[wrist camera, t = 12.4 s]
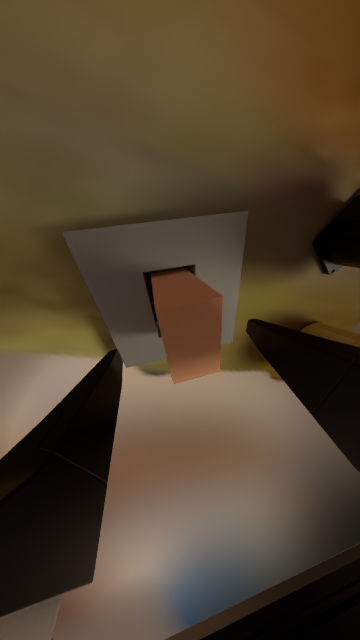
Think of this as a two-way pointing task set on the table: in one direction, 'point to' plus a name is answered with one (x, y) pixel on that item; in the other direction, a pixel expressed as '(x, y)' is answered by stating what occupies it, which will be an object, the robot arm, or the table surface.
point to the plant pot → (333, 333)
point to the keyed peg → (188, 323)
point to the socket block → (155, 254)
